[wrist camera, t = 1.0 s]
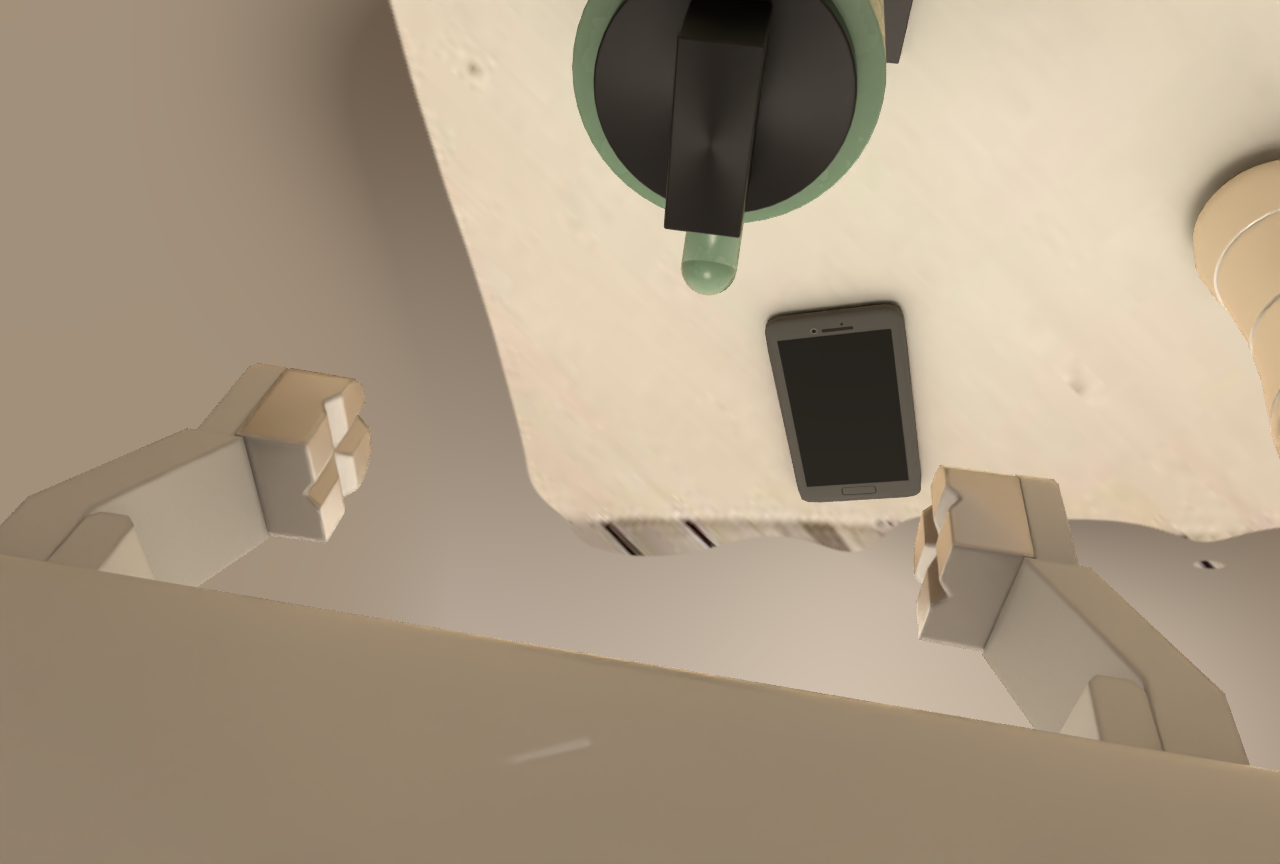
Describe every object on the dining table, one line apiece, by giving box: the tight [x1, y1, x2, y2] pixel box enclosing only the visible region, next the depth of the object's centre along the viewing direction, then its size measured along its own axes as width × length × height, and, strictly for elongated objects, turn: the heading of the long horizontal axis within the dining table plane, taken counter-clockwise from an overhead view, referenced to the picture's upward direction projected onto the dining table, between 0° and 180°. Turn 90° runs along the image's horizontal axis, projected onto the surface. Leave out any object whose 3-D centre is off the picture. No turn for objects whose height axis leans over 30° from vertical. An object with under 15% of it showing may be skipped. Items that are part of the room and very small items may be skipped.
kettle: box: [572, 0, 886, 295], centre depth 33 cm, size 17×9×17 cm, turn 178°
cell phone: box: [765, 304, 921, 502], centre depth 56 cm, size 7×14×1 cm, turn 15°
